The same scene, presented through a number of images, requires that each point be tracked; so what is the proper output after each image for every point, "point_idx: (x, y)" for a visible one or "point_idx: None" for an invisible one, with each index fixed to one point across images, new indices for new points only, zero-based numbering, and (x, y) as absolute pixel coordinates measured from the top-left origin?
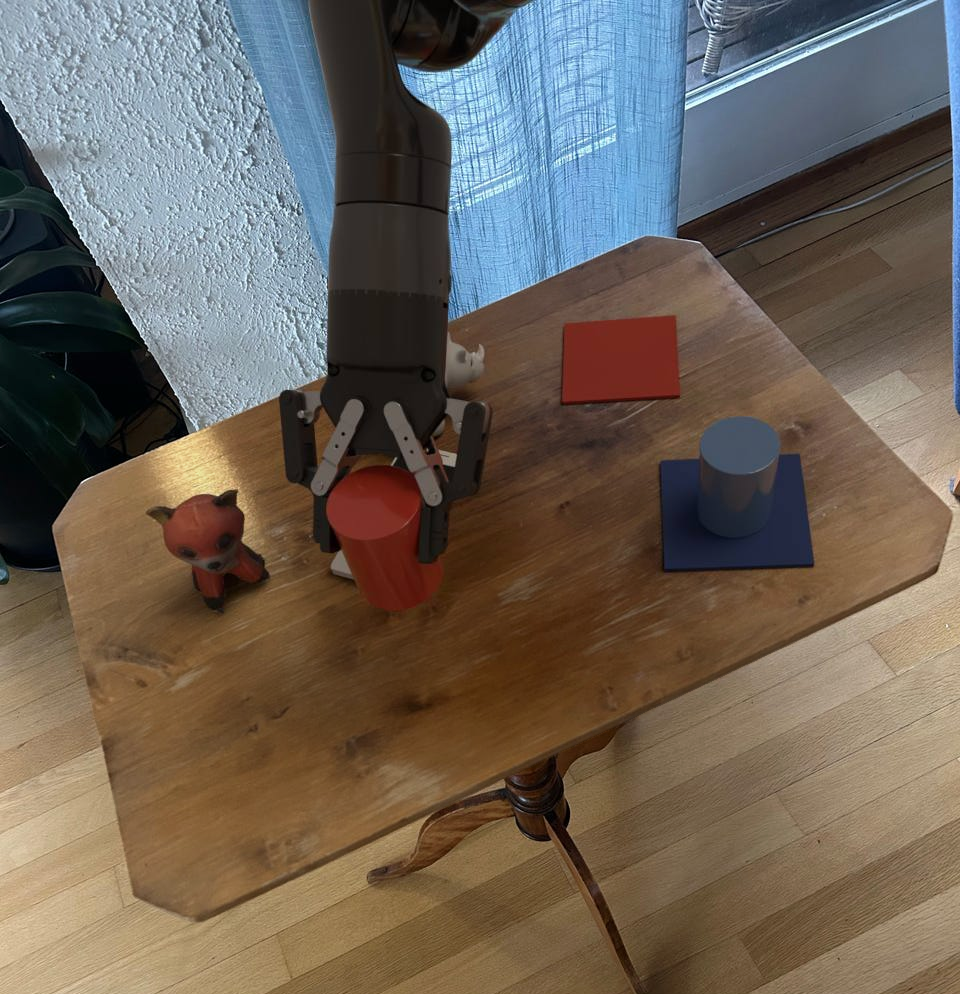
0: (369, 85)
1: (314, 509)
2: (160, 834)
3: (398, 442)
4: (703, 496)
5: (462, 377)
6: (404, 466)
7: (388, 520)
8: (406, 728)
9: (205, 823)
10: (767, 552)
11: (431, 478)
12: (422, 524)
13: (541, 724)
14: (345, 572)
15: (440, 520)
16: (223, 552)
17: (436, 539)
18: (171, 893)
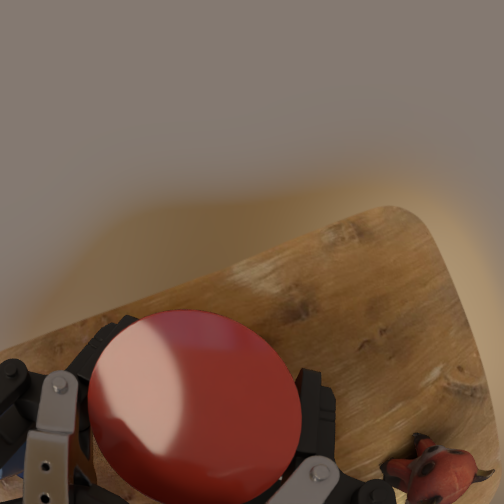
0: None
1: (332, 438)
2: (425, 252)
3: (66, 502)
4: (22, 448)
5: None
6: None
7: (150, 355)
8: (259, 323)
9: (401, 257)
10: (11, 405)
11: (44, 411)
12: None
13: (153, 312)
14: None
15: (78, 359)
16: (426, 461)
17: (101, 341)
18: (407, 214)
